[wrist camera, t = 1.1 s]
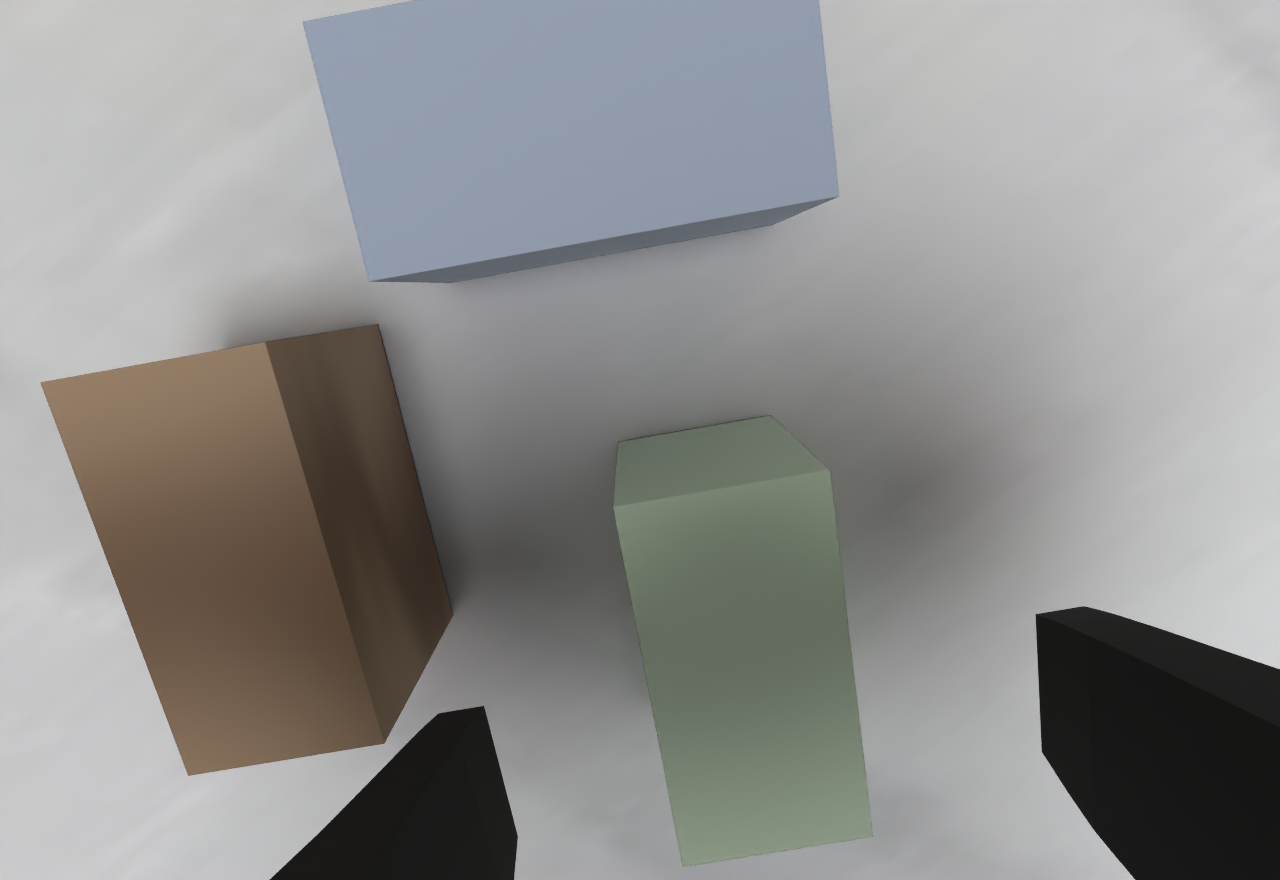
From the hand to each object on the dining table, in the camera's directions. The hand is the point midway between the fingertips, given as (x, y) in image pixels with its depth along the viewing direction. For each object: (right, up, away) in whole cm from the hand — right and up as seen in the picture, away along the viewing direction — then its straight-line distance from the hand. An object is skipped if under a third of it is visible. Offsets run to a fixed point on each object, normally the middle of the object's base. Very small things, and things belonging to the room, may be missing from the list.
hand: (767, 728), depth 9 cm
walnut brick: (-7, +3, +5) cm, 9 cm away
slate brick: (-2, +9, +3) cm, 10 cm away
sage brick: (0, +1, +5) cm, 5 cm away
